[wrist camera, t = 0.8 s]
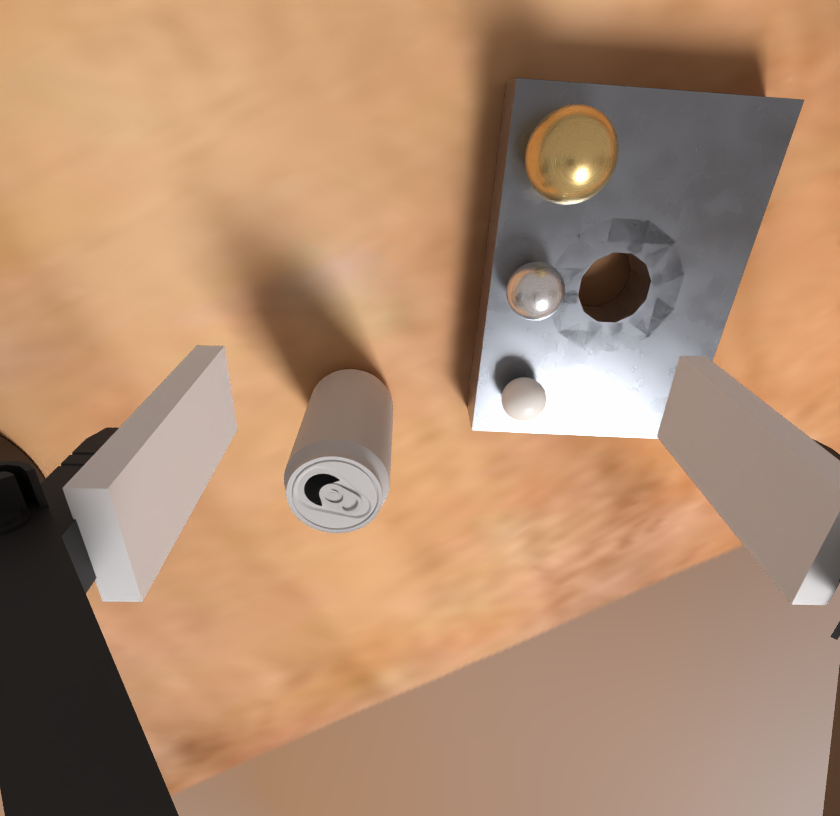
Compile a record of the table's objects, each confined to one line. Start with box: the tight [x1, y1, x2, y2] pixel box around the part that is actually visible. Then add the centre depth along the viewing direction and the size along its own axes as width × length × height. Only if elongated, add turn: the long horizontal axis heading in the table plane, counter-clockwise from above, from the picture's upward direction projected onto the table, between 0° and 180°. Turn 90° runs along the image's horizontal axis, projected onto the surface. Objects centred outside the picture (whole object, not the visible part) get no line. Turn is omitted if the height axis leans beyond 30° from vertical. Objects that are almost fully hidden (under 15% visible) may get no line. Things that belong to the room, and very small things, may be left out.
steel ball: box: [506, 262, 565, 320], centre depth 32 cm, size 4×4×4 cm
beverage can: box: [284, 369, 393, 533], centre depth 36 cm, size 6×6×12 cm
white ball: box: [501, 377, 546, 421], centre depth 36 cm, size 3×3×3 cm
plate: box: [467, 78, 804, 439], centre depth 35 cm, size 16×22×4 cm
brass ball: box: [525, 104, 619, 205], centre depth 28 cm, size 5×5×5 cm
